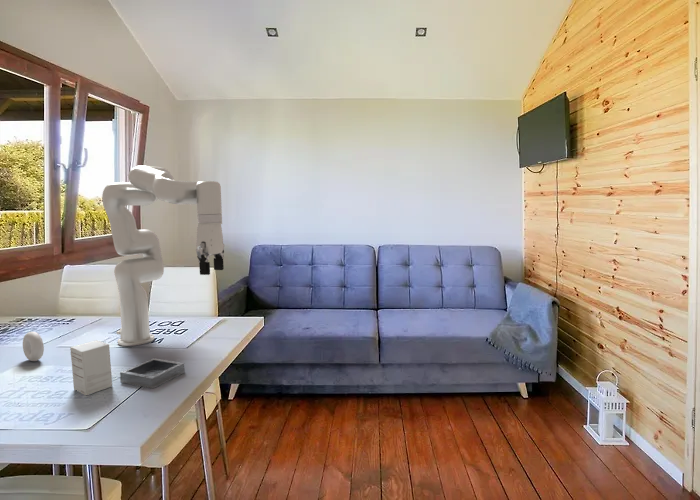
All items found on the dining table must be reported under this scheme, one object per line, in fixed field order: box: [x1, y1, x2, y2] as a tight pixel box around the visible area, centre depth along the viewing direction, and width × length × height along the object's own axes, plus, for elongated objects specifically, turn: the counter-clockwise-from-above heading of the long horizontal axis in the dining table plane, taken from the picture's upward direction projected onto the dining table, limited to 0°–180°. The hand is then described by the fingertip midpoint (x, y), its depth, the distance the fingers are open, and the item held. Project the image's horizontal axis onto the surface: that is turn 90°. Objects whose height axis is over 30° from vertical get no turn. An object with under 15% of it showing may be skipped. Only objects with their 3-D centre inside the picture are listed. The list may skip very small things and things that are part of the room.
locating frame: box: [119, 358, 186, 389], centre depth 128 cm, size 12×12×3 cm
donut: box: [22, 331, 45, 362], centre depth 142 cm, size 10×4×10 cm, turn 57°
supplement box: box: [69, 339, 113, 396], centre depth 120 cm, size 7×7×13 cm
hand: (212, 272), depth 139 cm, fingers open, 9 cm apart
